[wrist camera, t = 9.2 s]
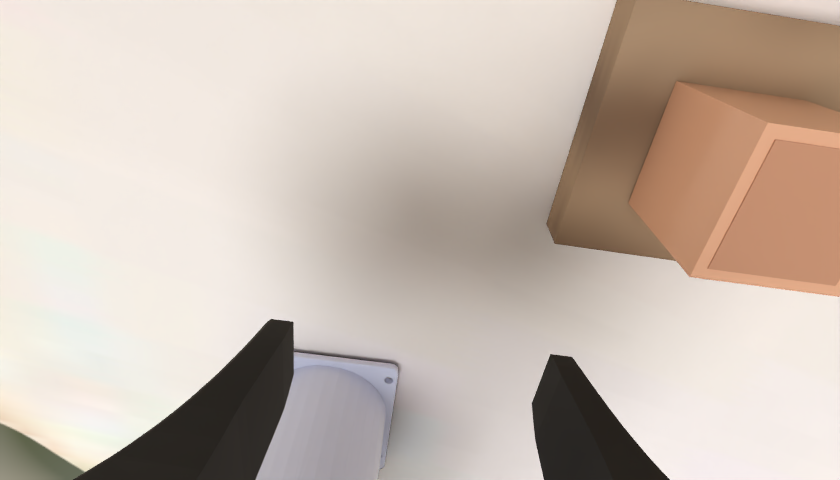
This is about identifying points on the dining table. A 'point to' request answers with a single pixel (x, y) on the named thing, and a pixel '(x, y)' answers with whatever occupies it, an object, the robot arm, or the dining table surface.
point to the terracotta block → (746, 188)
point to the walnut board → (649, 94)
